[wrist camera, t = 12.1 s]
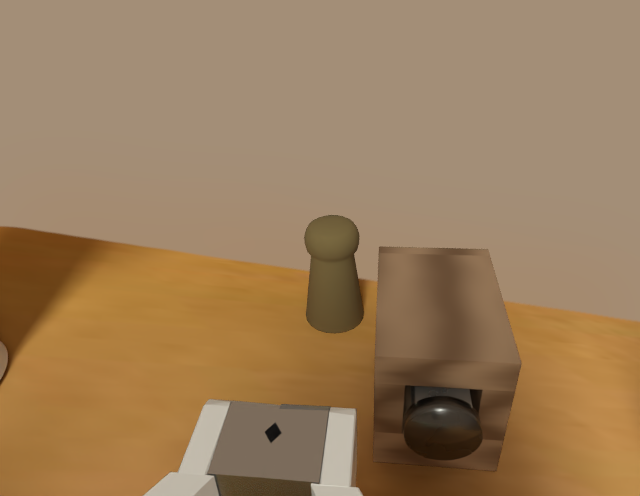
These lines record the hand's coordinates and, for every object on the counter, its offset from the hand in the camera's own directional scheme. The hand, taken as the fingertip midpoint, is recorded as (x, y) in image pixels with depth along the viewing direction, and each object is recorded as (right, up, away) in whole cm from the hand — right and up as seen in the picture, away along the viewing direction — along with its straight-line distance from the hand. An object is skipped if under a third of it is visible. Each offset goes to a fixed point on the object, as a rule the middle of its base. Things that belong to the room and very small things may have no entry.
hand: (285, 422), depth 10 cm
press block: (+10, -9, +33) cm, 35 cm away
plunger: (+10, -7, +29) cm, 32 cm away
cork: (+2, -3, +43) cm, 43 cm away
